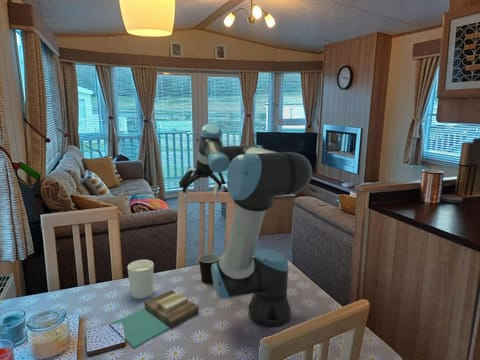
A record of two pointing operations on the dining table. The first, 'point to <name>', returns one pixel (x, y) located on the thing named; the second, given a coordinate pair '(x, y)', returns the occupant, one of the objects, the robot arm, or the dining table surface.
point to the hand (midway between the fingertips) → (200, 195)
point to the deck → (173, 315)
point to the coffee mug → (207, 266)
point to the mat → (141, 327)
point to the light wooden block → (171, 302)
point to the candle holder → (141, 278)
